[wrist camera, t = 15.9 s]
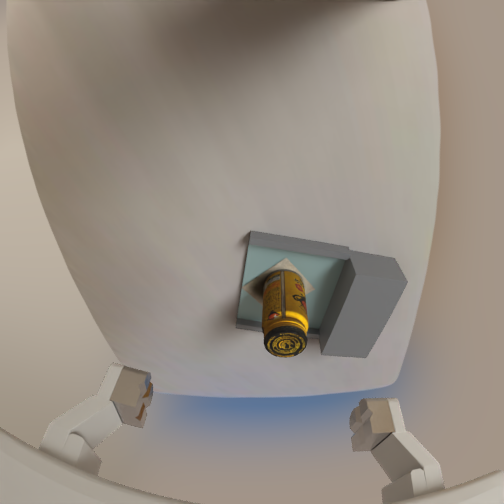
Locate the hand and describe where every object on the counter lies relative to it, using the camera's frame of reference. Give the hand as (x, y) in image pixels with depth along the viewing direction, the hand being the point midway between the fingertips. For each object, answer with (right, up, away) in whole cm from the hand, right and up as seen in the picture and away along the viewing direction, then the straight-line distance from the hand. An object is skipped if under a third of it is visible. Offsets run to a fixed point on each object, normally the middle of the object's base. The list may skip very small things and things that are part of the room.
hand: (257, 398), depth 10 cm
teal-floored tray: (+9, -1, +36) cm, 37 cm away
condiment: (+4, 0, +36) cm, 36 cm away
